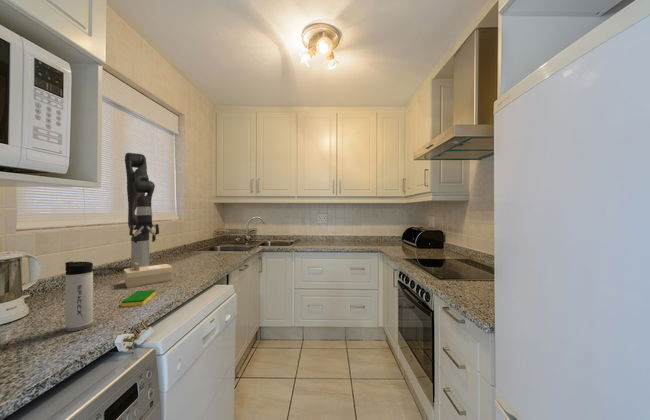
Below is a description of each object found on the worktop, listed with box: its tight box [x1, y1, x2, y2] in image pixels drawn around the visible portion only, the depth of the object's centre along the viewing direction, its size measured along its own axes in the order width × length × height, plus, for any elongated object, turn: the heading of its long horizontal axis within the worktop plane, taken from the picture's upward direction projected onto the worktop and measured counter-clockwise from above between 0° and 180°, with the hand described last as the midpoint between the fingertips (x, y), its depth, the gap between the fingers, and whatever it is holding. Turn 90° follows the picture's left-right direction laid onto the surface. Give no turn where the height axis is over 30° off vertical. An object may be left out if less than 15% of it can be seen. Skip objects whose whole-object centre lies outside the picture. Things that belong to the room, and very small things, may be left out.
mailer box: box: [124, 272, 173, 289], centre depth 133 cm, size 10×18×6 cm, turn 133°
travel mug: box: [64, 261, 94, 332], centre depth 82 cm, size 6×7×20 cm
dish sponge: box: [121, 289, 157, 308], centre depth 106 cm, size 7×14×2 cm, turn 15°
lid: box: [123, 262, 174, 278], centre depth 133 cm, size 12×19×5 cm, turn 133°
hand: (144, 242), depth 156 cm, fingers open, 8 cm apart
